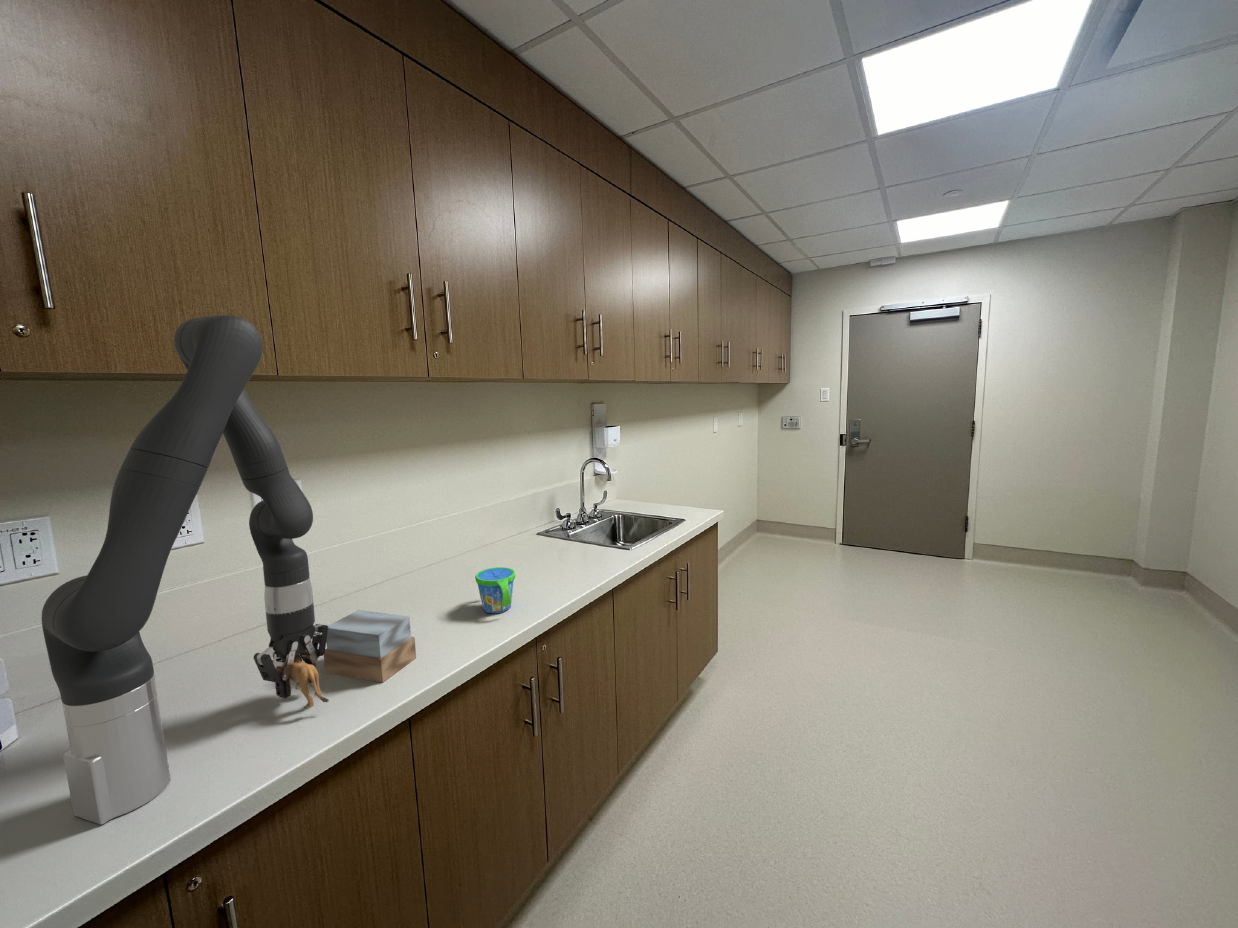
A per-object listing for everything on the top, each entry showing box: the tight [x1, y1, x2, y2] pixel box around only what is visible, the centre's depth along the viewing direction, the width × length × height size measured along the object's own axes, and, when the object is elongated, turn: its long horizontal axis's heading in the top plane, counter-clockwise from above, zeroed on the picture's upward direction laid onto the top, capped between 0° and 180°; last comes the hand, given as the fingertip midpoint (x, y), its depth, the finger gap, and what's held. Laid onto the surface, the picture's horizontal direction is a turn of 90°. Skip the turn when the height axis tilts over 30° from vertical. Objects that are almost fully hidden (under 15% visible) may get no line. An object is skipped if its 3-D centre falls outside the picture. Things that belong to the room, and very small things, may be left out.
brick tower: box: [323, 609, 417, 684], centre depth 106 cm, size 10×15×10 cm, turn 73°
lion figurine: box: [273, 653, 330, 709], centre depth 93 cm, size 15×5×9 cm, turn 68°
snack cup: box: [474, 566, 517, 614], centre depth 134 cm, size 16×10×10 cm
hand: (297, 688), depth 94 cm, fingers closed on lion figurine, 4 cm apart
